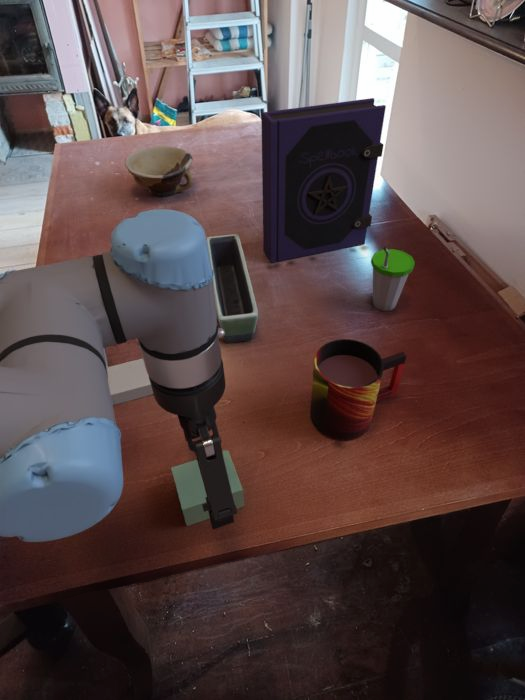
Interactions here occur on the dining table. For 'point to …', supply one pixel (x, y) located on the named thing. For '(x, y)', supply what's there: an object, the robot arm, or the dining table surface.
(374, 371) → the mug
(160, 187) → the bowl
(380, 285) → the cup
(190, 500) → the green block
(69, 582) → the dining table surface
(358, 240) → the book
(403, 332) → the dining table surface
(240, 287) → the planter
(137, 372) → the base pad
